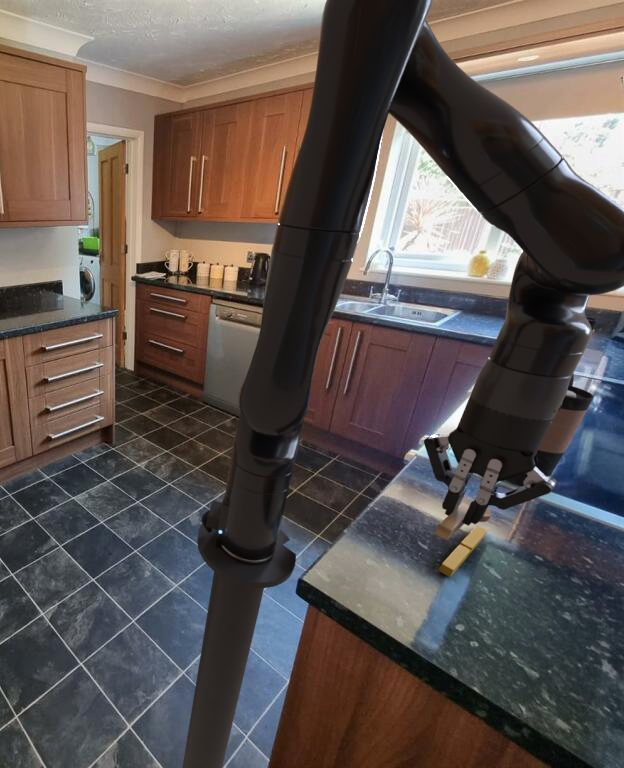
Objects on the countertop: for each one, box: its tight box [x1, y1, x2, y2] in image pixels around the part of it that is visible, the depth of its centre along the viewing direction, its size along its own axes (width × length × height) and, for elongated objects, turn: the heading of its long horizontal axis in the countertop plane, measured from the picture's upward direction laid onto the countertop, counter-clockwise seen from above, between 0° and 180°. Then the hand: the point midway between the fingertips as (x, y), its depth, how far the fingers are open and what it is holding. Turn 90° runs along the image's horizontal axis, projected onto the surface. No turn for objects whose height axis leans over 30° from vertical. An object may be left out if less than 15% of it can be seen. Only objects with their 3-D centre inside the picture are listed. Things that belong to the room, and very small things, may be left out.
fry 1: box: [438, 543, 471, 578], centre depth 65 cm, size 7×2×2 cm, turn 125°
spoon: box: [434, 495, 493, 541], centre depth 57 cm, size 12×4×2 cm, turn 124°
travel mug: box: [506, 385, 594, 487], centre depth 82 cm, size 8×8×20 cm
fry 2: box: [460, 525, 488, 556], centre depth 69 cm, size 7×2×2 cm, turn 125°
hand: (459, 517), depth 56 cm, fingers closed on spoon, 1 cm apart
